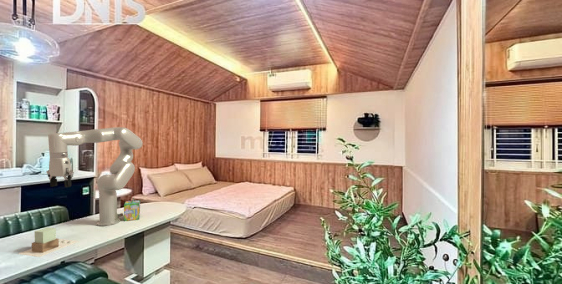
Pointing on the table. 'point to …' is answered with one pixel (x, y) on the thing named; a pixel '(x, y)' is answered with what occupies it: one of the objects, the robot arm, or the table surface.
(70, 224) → the table surface
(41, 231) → the sage block
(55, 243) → the walnut block
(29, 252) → the snap baseplate
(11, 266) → the table surface
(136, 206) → the chalk box
